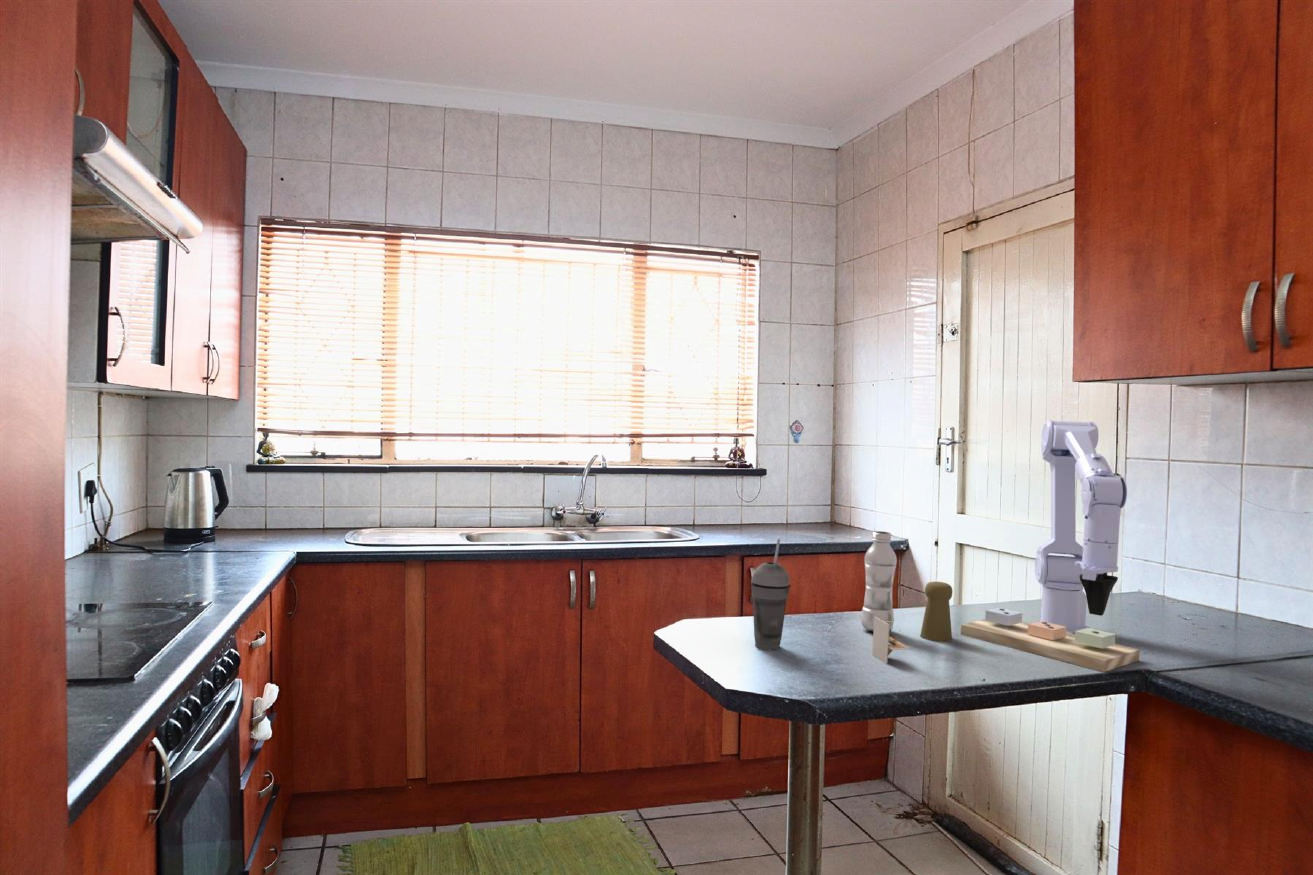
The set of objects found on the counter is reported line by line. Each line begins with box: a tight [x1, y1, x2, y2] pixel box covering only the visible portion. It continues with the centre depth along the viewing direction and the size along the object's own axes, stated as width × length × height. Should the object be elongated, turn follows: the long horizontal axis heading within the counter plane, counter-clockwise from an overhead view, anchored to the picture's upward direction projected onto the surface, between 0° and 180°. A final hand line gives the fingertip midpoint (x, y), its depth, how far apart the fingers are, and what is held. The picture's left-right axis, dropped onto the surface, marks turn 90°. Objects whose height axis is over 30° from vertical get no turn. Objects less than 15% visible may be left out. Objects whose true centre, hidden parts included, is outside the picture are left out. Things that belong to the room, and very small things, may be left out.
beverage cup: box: [750, 538, 791, 651], centre depth 152 cm, size 7×7×20 cm
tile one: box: [1074, 628, 1116, 649], centre depth 154 cm, size 5×5×2 cm
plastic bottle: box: [860, 530, 898, 632], centre depth 167 cm, size 6×7×20 cm
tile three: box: [1028, 620, 1067, 640], centre depth 161 cm, size 5×5×2 cm
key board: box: [960, 618, 1141, 673], centre depth 161 cm, size 14×28×2 cm, turn 38°
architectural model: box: [871, 617, 910, 665], centre depth 147 cm, size 3×7×7 cm, turn 11°
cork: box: [919, 581, 954, 643], centre depth 164 cm, size 6×6×11 cm
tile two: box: [984, 607, 1023, 626], centre depth 168 cm, size 5×5×2 cm
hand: (1096, 614), depth 154 cm, fingers closed
